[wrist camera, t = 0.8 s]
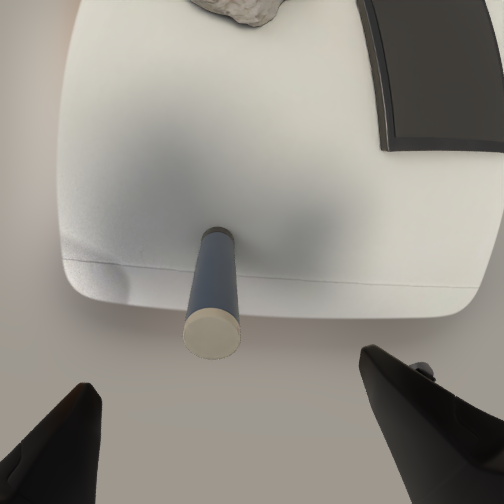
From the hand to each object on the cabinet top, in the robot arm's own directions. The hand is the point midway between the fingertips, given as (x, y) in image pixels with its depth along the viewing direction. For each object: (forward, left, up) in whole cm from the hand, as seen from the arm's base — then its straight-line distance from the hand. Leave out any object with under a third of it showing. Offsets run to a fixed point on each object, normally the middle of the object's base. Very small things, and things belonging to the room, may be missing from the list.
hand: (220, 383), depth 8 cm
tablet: (+1, -28, -13) cm, 31 cm away
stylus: (0, +1, -13) cm, 13 cm away
